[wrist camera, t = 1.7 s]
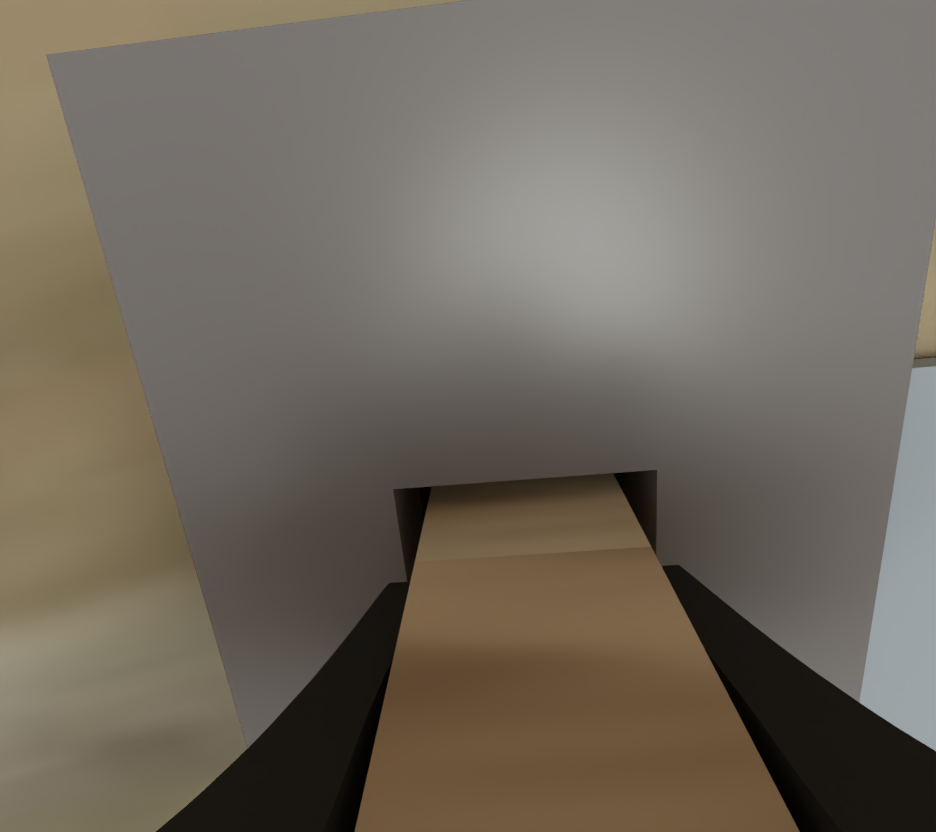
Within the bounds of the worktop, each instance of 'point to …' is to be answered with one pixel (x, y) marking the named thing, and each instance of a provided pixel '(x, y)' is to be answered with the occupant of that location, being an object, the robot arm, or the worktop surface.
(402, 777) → the plug
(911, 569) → the mat
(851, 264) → the grey flat plate
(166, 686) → the worktop surface
